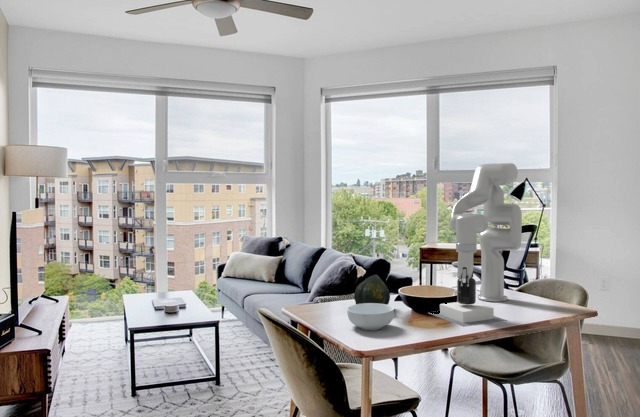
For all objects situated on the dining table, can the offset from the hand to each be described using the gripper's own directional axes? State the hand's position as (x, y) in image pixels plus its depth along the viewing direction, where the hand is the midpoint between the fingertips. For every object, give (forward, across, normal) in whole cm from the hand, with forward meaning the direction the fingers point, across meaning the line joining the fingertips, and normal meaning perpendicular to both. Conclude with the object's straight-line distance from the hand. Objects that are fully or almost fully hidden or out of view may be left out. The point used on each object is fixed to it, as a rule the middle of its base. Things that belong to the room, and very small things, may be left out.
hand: (466, 294), depth 194 cm
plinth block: (+9, 0, 0) cm, 9 cm away
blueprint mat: (+9, 0, 0) cm, 9 cm away
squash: (+9, 0, -38) cm, 39 cm away
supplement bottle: (+4, 0, 0) cm, 4 cm away
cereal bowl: (+9, +25, -30) cm, 40 cm away
